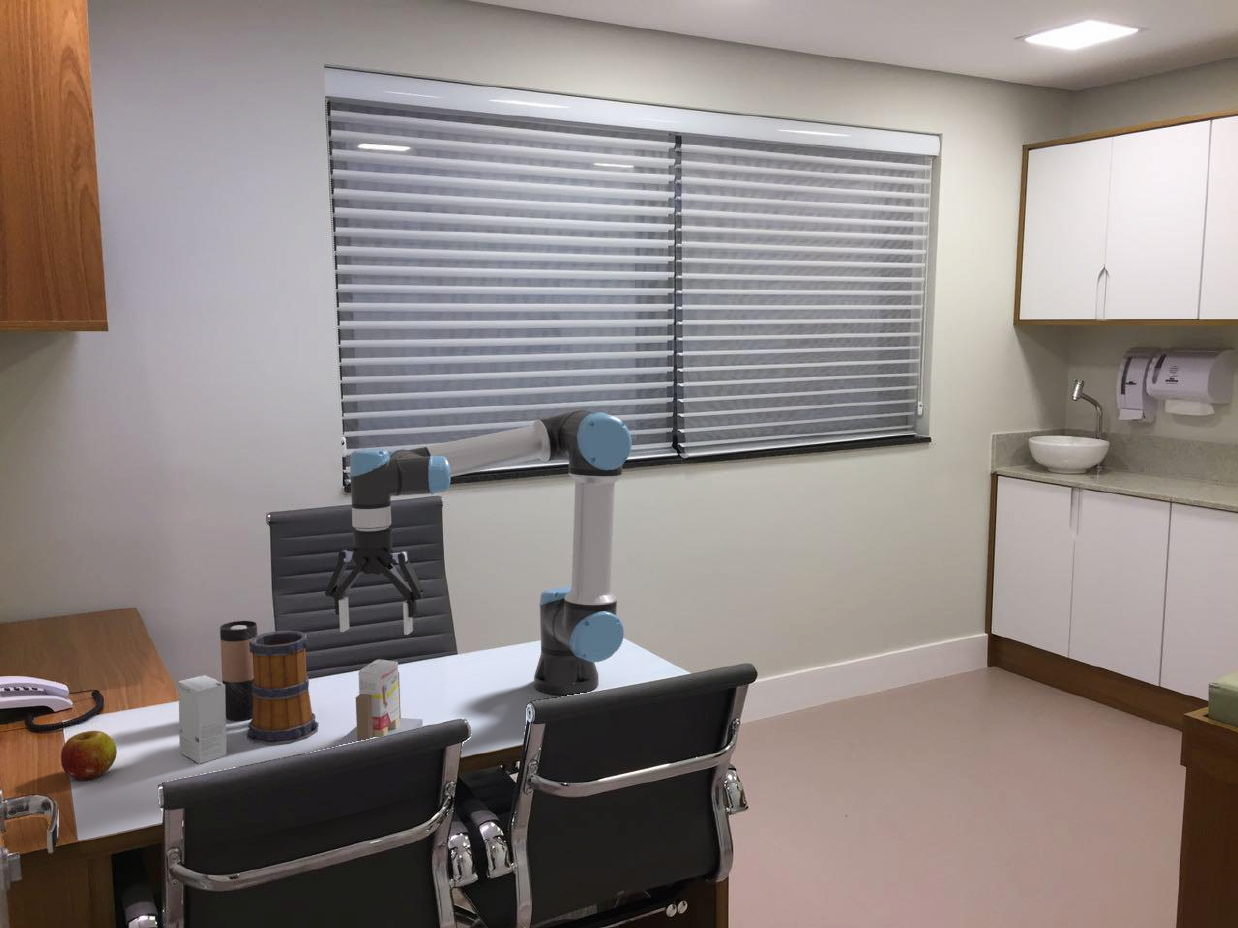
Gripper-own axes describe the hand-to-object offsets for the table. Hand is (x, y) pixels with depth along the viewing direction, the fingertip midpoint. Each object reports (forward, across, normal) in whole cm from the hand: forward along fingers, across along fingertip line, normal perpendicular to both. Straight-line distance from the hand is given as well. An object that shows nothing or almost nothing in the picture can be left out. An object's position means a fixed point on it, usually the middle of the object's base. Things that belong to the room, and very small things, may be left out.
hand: (376, 631), depth 205 cm
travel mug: (+22, +35, -8) cm, 42 cm away
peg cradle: (+22, 0, 0) cm, 22 cm away
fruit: (+22, +47, +25) cm, 58 cm away
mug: (+23, +22, -3) cm, 32 cm away
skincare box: (+22, +31, +13) cm, 41 cm away
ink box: (+19, 0, 0) cm, 19 cm away
